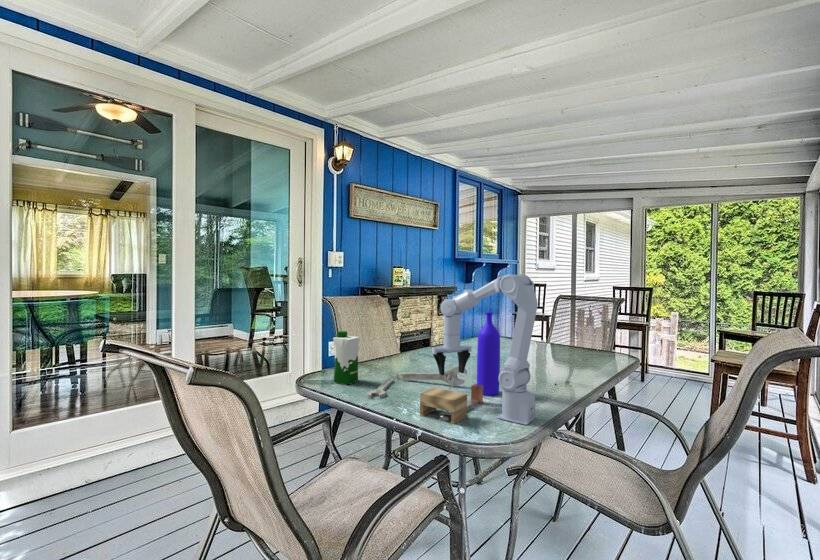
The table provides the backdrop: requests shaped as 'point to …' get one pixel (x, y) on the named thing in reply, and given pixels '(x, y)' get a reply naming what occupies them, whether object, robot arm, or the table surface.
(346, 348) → the milk carton
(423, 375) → the wrench
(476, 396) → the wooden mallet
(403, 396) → the table surface
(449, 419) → the token
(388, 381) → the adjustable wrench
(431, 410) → the wooden bridge block
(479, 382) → the bottle
